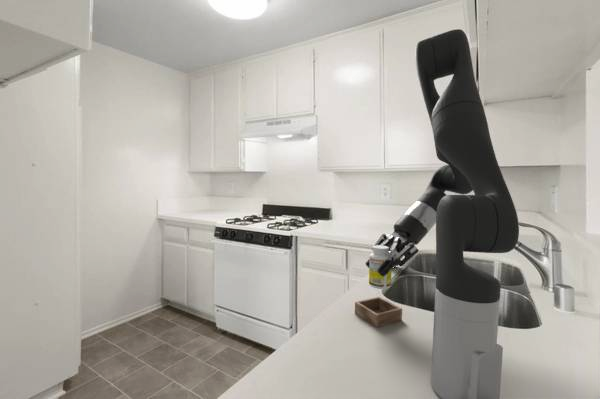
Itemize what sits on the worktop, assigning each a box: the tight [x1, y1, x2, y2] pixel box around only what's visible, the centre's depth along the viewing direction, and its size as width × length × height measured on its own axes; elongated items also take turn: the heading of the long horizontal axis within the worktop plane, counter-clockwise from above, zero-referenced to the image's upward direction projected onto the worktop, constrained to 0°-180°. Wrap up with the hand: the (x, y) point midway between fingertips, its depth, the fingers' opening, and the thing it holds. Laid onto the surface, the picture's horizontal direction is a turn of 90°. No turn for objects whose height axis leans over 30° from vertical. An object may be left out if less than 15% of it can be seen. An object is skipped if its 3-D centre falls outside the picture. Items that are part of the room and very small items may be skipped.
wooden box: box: [354, 296, 403, 328], centre depth 76 cm, size 8×8×3 cm
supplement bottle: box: [368, 244, 392, 290], centre depth 75 cm, size 6×6×10 cm
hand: (374, 270), depth 75 cm, fingers closed on supplement bottle, 5 cm apart
